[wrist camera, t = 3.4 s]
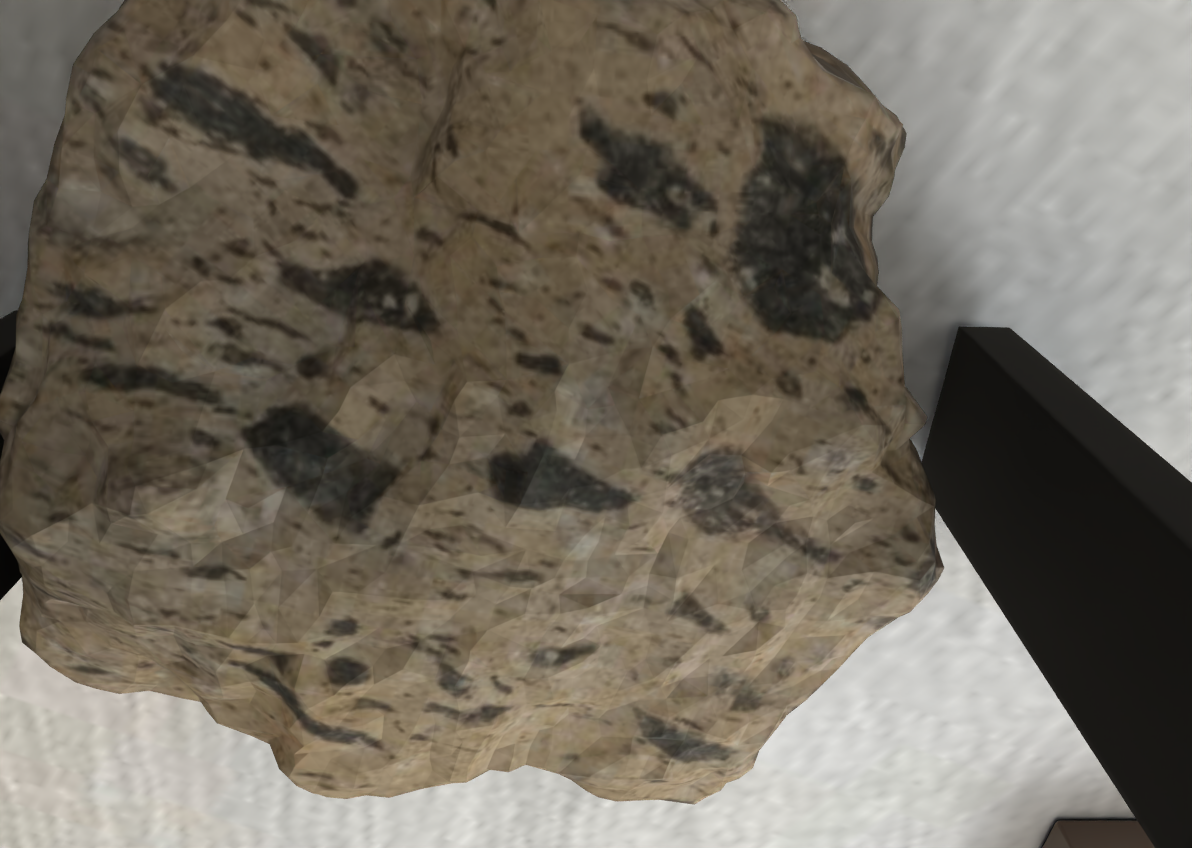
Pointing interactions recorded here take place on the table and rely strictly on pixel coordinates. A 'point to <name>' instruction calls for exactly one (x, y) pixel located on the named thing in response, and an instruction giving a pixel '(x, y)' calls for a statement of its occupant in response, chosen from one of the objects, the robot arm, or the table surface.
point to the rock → (465, 384)
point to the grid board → (1097, 835)
